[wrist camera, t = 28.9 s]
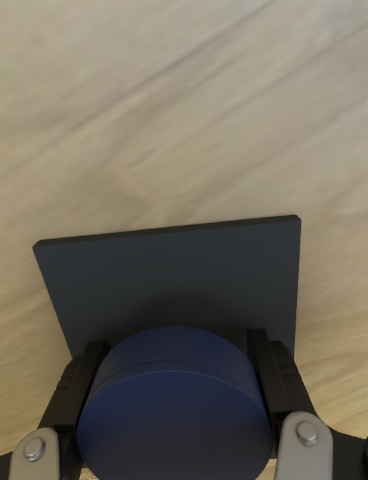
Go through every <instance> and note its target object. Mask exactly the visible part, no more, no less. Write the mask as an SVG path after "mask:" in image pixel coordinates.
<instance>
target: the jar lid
mask: <svg viewBox="0 0 368 480" xmlns="http://www.w3.org/2000/svg"><path fill="white" fill-rule="evenodd" d="M77 443H78V449H79V451H80V454H81V457H82V459H83V460H84V462H85V464H86V466H87V467H88V468H89V469H90V471H91V472H92V473H93V474H94V475H95V476H96V477H97V478H98V479H99V480H255V479H256V478H257V477H258V476H259V475H260V474H261V473H262V471H263V470H264V469H265V467H266V465H267V463H268V462H269V459H270V456H271V453H272V448H273V432H272V427H271V423H270V421H269V417H268V414H267V410H266V406H265V403H264V399H263V395H262V392H261V388H260V384H259V381H258V377H257V373H256V371H255V369H254V367H253V365H252V363H251V362H250V360H249V359H248V358H247V357H246V355H245V354H244V353H243V352H242V351H241V350H240V349H239V348H237V347H236V346H235V345H234V344H232V343H231V342H229V341H228V340H226V339H224V338H222V337H220V336H218V335H216V334H214V333H211V332H208V331H205V330H201V329H197V328H191V327H183V326H168V327H159V328H154V329H149V330H146V331H143V332H140V333H137V334H135V335H133V336H131V337H128V338H127V339H125V340H124V341H122V342H120V343H119V344H118V345H117V346H116V347H114V348H113V349H112V350H111V351H110V352H109V353H108V354H107V356H106V357H105V358H104V360H103V361H102V363H101V365H100V367H99V369H98V372H97V374H96V377H95V380H94V382H93V385H92V387H91V390H90V393H89V395H88V398H87V401H86V403H85V406H84V409H83V411H82V414H81V416H80V419H79V423H78V427H77Z"/></svg>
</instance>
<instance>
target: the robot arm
mask: <svg viewBox="0 0 368 480" xmlns="http://www.w3.org/2000/svg"><path fill="white" fill-rule="evenodd" d="M246 342H247V358H248V359H249V360H250V362H251V363H252V365H253V367H254V369H255V371H256V373H257V377H258V381H259V384H260V388H261V392H262V395H263V399H264V403H265V406H266V410H267V414H268V417H269V421H270V423H271V427H272V432H273V448H272V453H271V456H270V459H277V462H276V469H275V475H274V480H368V437H367V439H362V438H358V437H354V436H350V435H347V434H343V433H340V432H338V431H336V430H334V429H332V428H330V427H329V426H328V425H326V424H325V423H324V422H323V421H322V420H321V419H320V418H319V416H318V415H317V413H316V412H315V410H314V407H313V405H312V402H311V400H310V398H309V395H308V393H307V390H306V388H305V386H304V383H303V381H302V378H301V376H300V374H299V372H298V369H297V366H296V364H295V363H294V359H293V357H292V355H291V352H290V350H289V349H288V348H287V347H286V346H285V345H284V344H283V343H282V342H281V341H280V340H278V341H269V338H268V335H267V332H266V330H265V328H258V329H247V330H246ZM110 351H111V349H110V345H109V342H108V341H107V340H101V341H90V342H88V343H87V345H86V347H85V350H84V352H83V355H77V356H75V357H74V358H73V359H72V360H71V362H70V363H69V364H68V365H67V366H66V368H65V370H64V372H63V374H62V376H61V380H60V381H59V383H58V385H57V387H56V390H55V391H54V394H53V396H52V398H51V400H50V402H49V404H48V406H47V409H46V411H45V413H44V415H43V417H42V419H41V421H40V424H39V426H38V428H37V429H36V430H34V431H32V432H31V433H29V434H28V435H26V436H25V437H24V438H23V439H22V440H21V441H20V442H19V443H18V444H17V446H16V447H15V449H14V451H12V452H10V453H7V454H5V455H2V456H0V480H79V477H80V474H81V471H82V468H88V467H87V466H86V464H85V462H84V460H83V459H82V457H81V454H80V451H79V449H78V443H77V427H78V423H79V419H80V416H81V414H82V411H83V409H84V406H85V403H86V401H87V398H88V395H89V393H90V390H91V387H92V385H93V382H94V380H95V377H96V374H97V372H98V369H99V367H100V365H101V363H102V361H103V360H104V358H105V357H106V356H107V354H108V353H109V352H110Z"/></svg>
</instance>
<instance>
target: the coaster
mask: <svg viewBox="0 0 368 480" xmlns="http://www.w3.org/2000/svg"><path fill="white" fill-rule="evenodd" d="M300 236H301V219H300V218H299V217H298V216H297V215H291V216H281V217H271V218H261V219H251V220H241V221H231V222H221V223H211V224H201V225H191V226H181V227H171V228H161V229H151V230H141V231H131V232H121V233H111V234H101V235H91V236H81V237H72V238H62V239H52V240H42V241H38V242H37V243H36V244H35V245H34V246H33V251H34V254H35V256H36V259H37V262H38V265H39V267H40V270H41V273H42V276H43V278H44V281H45V284H46V287H47V289H48V292H49V295H50V298H51V300H52V303H53V306H54V309H55V312H56V314H57V317H58V320H59V323H60V325H61V328H62V331H63V334H64V336H65V339H66V342H67V345H68V347H69V350H70V353H71V356H72V358H74V357H75V356H77V355H83V352H84V350H85V347H86V345H87V343H88V342H90V341H101V340H107V341H108V342H109V345H110V349H111V350H112V349H113V348H114V347H116V346H117V345H118V344H119V343H120V342H122V341H124V340H125V339H127V338H128V337H131V336H133V335H135V334H137V333H140V332H143V331H146V330H149V329H154V328H159V327H168V326H183V327H191V328H197V329H201V330H205V331H208V332H211V333H214V334H216V335H218V336H220V337H222V338H224V339H226V340H228V341H229V342H231V343H232V344H234V345H235V346H236V347H237V348H239V349H240V350H241V351H242V352H243V353H244V354H245V355H246V357H247V342H246V330H247V329H258V328H265V330H266V332H267V335H268V338H269V341H278V340H280V341H281V342H282V343H283V344H284V345H285V346H286V347H287V348H288V349H289V350H290V352H291V355H292V357H293V359H294V345H295V327H296V308H297V290H298V272H299V254H300Z"/></svg>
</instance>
